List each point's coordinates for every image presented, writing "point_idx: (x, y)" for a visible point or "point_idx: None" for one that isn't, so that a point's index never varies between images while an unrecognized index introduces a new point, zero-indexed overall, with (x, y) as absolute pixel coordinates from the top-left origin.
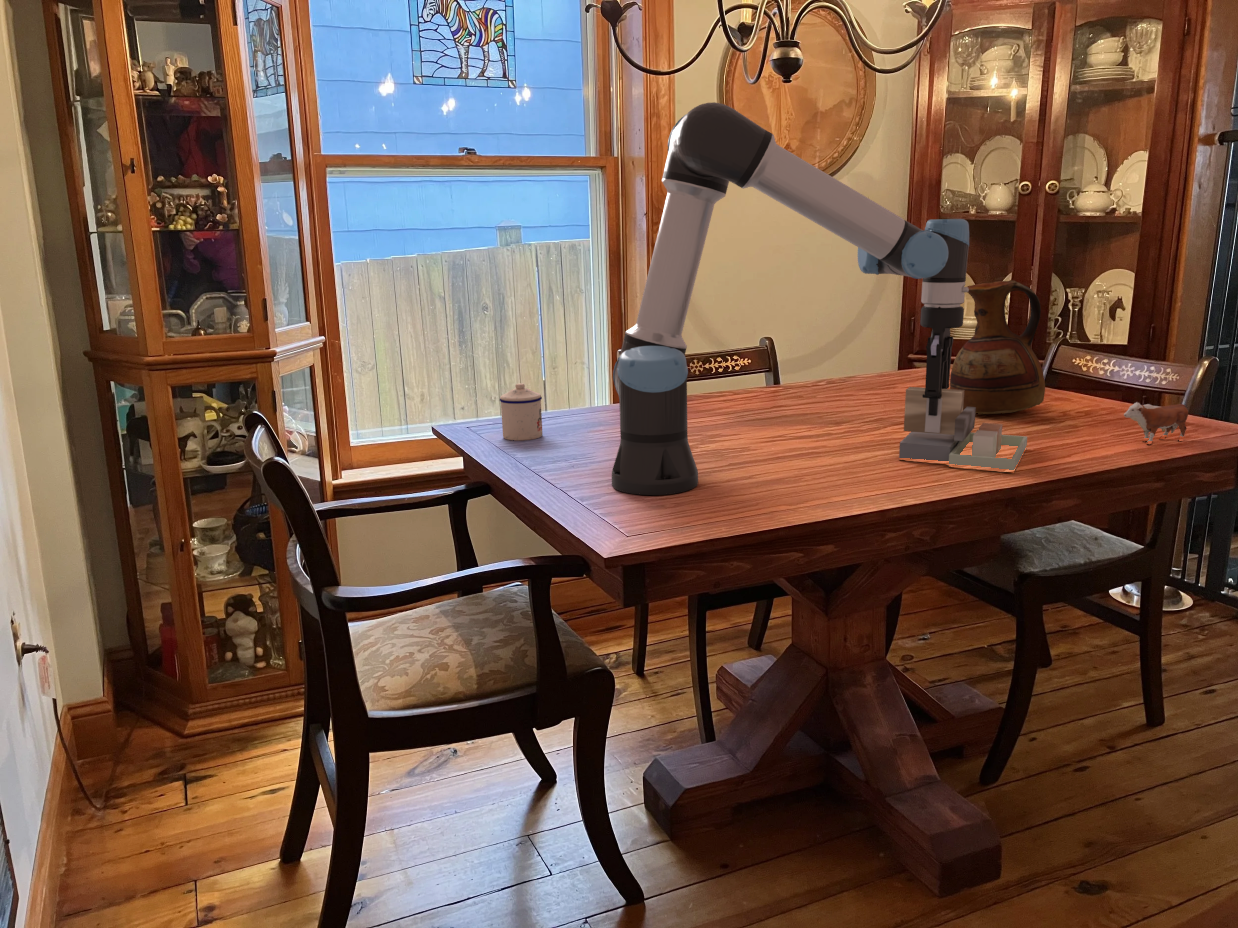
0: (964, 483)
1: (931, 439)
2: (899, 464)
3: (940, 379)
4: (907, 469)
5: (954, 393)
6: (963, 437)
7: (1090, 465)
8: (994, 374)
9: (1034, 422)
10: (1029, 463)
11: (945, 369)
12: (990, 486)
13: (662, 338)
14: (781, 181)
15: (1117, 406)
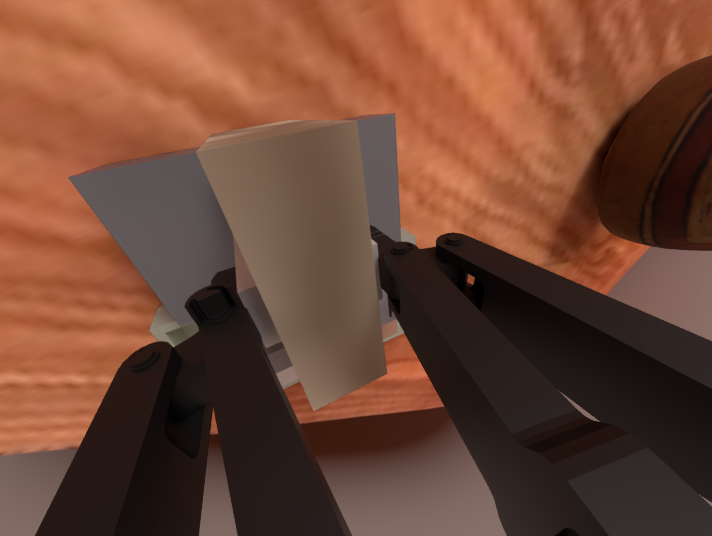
0: (43, 401)
1: (229, 243)
2: (53, 189)
3: (200, 503)
4: (14, 242)
5: (306, 391)
6: None
7: (349, 401)
8: (706, 194)
9: (564, 236)
10: None
11: (448, 405)
12: (81, 431)
13: None
14: None
15: (625, 267)
